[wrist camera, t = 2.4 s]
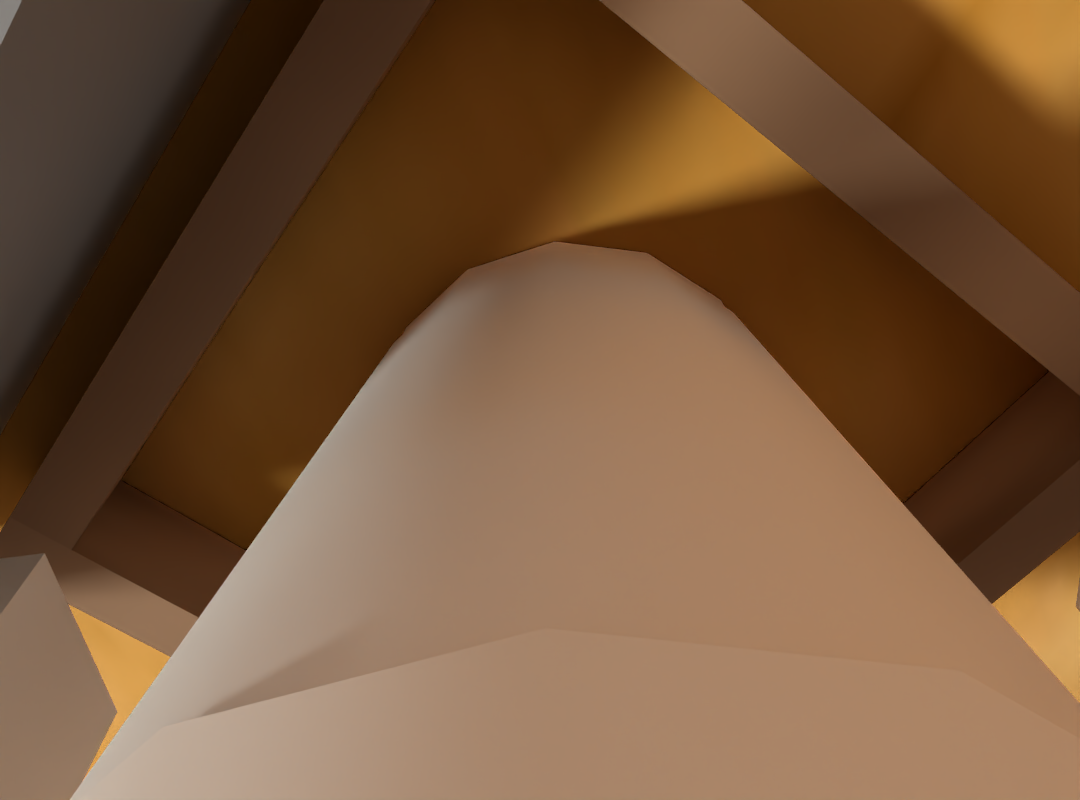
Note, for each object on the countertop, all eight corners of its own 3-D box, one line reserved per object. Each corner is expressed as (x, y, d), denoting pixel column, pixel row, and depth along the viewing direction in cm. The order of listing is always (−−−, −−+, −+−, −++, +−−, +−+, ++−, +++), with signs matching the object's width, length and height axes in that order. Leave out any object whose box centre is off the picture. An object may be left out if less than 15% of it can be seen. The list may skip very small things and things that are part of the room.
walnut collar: (1145, 355, 16) (1220, 415, 14) (628, 809, 21) (636, 897, 19) (479, -220, 12) (468, -238, 11) (40, 489, 17) (-17, 559, 15)
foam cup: (192, 490, 17) (-525, 1732, 6) (471, 7, 14) (59, 720, 2) (642, 714, 20) (783, 1916, 8) (981, 353, 16) (2123, 1590, 4)
